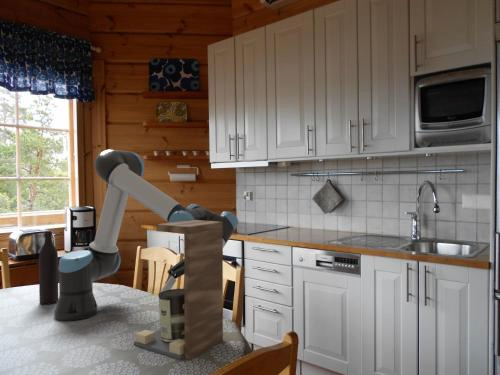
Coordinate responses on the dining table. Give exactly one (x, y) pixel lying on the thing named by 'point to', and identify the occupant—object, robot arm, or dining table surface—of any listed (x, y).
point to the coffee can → (172, 314)
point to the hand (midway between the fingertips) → (177, 299)
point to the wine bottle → (48, 271)
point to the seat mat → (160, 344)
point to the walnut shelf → (201, 282)
